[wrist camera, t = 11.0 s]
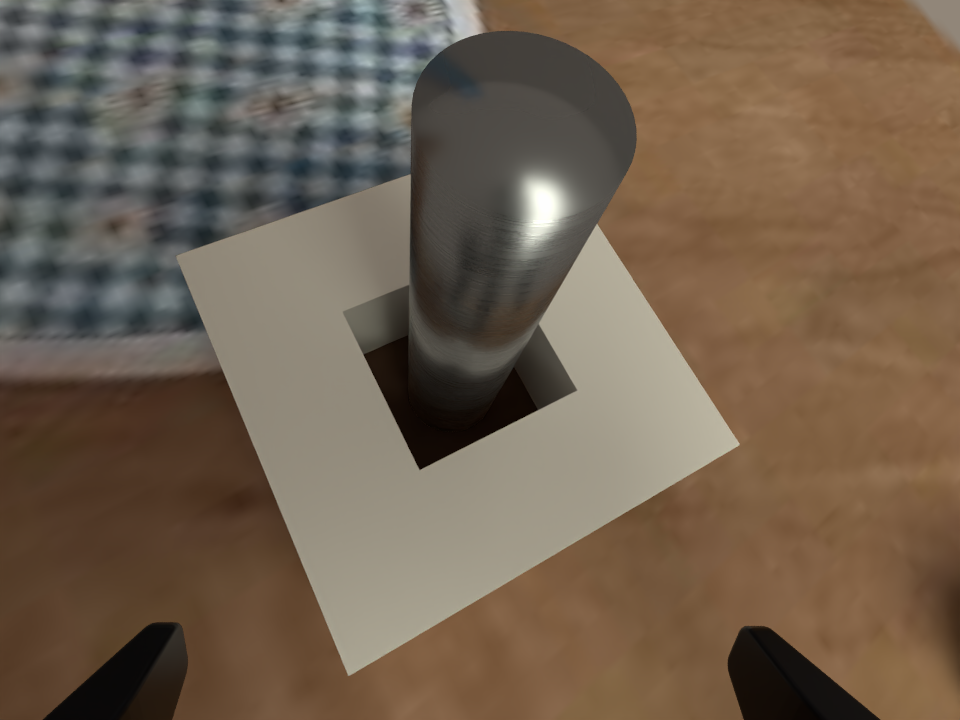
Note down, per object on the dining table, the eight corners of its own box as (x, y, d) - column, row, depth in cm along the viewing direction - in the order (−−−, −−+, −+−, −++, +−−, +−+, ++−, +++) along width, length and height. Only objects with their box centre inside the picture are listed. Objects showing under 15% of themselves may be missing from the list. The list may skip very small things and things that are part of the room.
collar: (675, 465, 19) (740, 445, 16) (361, 647, 16) (348, 676, 13) (514, 201, 22) (536, 130, 19) (220, 313, 19) (175, 255, 15)
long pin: (509, 385, 20) (676, 115, 8) (457, 449, 19) (553, 260, 7) (444, 334, 20) (504, -2, 8) (390, 395, 19) (361, 117, 7)
